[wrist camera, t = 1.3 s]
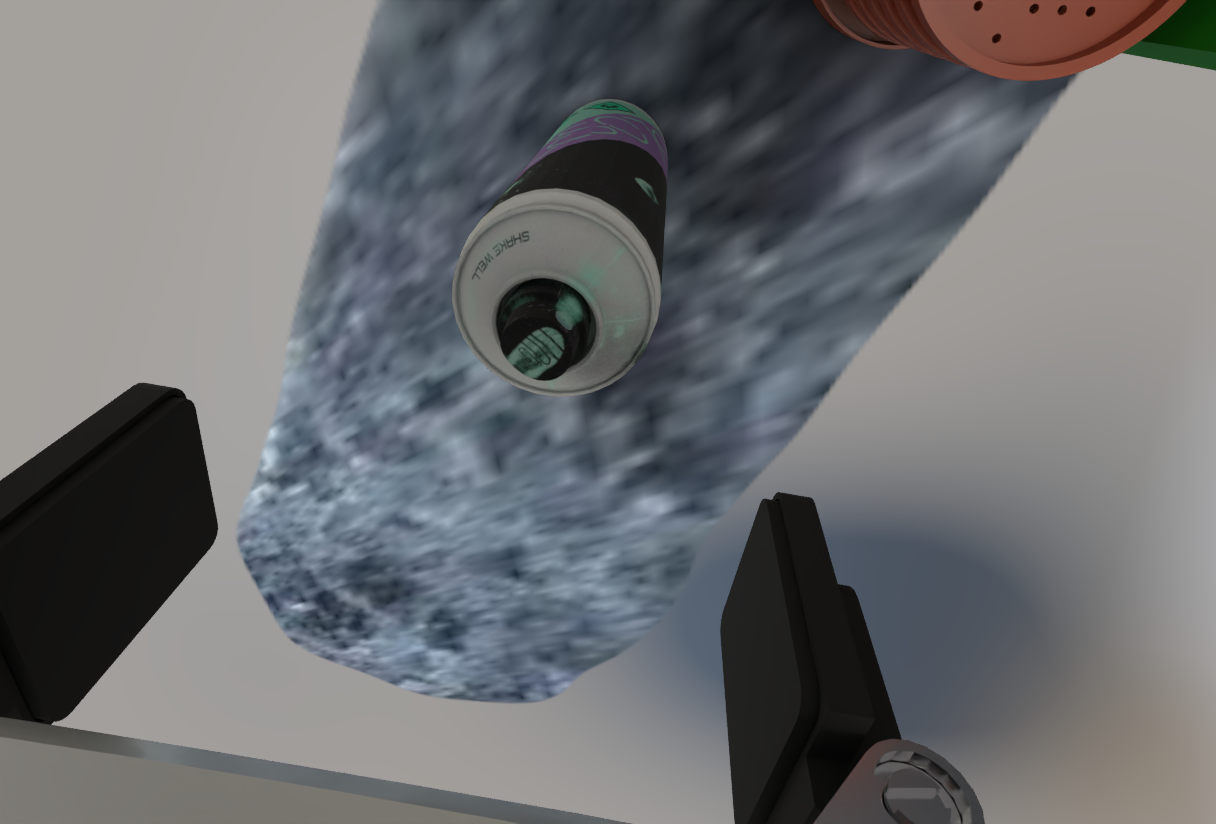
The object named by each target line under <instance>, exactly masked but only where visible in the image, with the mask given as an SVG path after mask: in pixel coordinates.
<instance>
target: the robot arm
mask: <svg viewBox="0 0 1216 824" xmlns="http://www.w3.org/2000/svg"><path fill="white" fill-rule="evenodd" d="M217 530H218V523H217V518H216V512H215V507H214V502H213V497H212V492H211V486H210V481H209V476H208V471H207V466H206V461H205V455H204V450H203V445H202V440H201V435H200V429H199V424H198V419H197V414H196V409H195V406H194V404H193V402H192V401H191V400H188V399H186V396H185V394H184V393H183V391H181V390H179V389H177V388H172V387H166V386H159V385H154V384H148V383H138V384H136V385H134V386H132V387H131V388H130V389H128V390H127V391H126V392H124V393H123V394H121V395H120V396H118V397H117V398H116V399H114V400H113V401H111V402H110V403H109V404H107V405H106V406H104V407H103V408H102V409H100V410H99V411H98V412H96V413H95V414H93V415H92V416H90V417H89V418H88V419H86V420H85V421H83V422H82V423H81V424H79V425H78V426H76V427H75V428H74V429H72V430H71V431H69V432H68V433H67V434H65V435H64V436H62V437H61V438H60V439H58V440H57V441H55V442H54V443H53V444H51V445H50V446H48V447H47V448H45V449H44V450H43V451H41V452H40V453H39V454H37V455H36V456H35V457H33V458H31V459H30V460H29V461H27V462H26V463H24V464H23V465H22V466H20V467H19V468H17V469H16V470H15V471H13V472H12V473H10V474H9V475H8V476H6V477H5V478H3V479H2V480H1V481H0V824H630V823H625V822H619V821H614V820H609V819H604V818H599V817H593V816H588V815H583V814H578V813H572V812H566V811H560V810H555V809H548V808H543V807H537V806H531V805H526V804H520V803H514V802H508V801H502V800H497V799H491V798H485V797H480V796H473V795H468V794H462V793H457V792H451V791H445V790H439V789H433V788H427V787H422V786H416V785H410V784H405V783H399V782H393V781H386V780H380V779H375V778H369V777H363V776H357V775H351V774H345V773H339V772H333V771H328V770H321V769H316V768H309V767H304V766H298V765H292V764H286V763H280V762H274V761H268V760H262V759H256V758H250V757H244V756H238V755H232V754H226V753H220V752H214V751H208V750H202V749H195V748H189V747H184V746H178V745H171V744H165V743H159V742H153V741H147V740H140V739H134V738H128V737H122V736H116V735H110V734H103V733H97V732H91V731H85V730H79V729H73V728H67V727H61V726H54V725H51V724H52V723H53V722H54V721H55V722H56V721H60V720H62V719H64V718H65V717H67V716H68V715H69V714H70V713H71V712H72V711H73V710H74V708H75V707H76V706H77V705H78V704H79V703H80V701H81V700H82V699H83V698H84V697H85V696H86V694H87V693H88V692H89V691H90V690H91V688H92V687H93V686H94V685H95V684H96V683H97V681H98V680H99V679H100V678H101V677H102V676H103V674H104V673H105V672H106V671H107V670H108V668H109V667H110V666H111V665H112V664H113V663H114V661H115V660H116V659H117V658H118V657H119V655H120V654H121V653H122V652H123V650H124V649H125V648H126V647H127V646H128V645H129V644H130V642H131V641H132V640H133V639H134V638H135V636H136V635H137V634H138V633H139V632H140V631H141V629H142V628H143V627H144V626H145V625H146V623H147V622H148V621H149V620H150V619H151V617H152V616H153V615H154V614H155V613H156V612H157V610H158V609H159V608H160V607H161V606H162V605H163V603H164V602H165V601H166V600H167V599H168V597H169V596H170V595H171V594H172V593H173V591H174V590H175V589H176V588H177V587H178V586H179V584H180V583H181V582H182V581H183V580H184V578H185V577H186V576H187V575H188V574H189V573H190V571H191V570H192V569H193V568H194V567H195V566H196V564H197V563H198V562H199V561H200V560H201V558H202V557H203V556H204V555H205V554H206V553H207V551H208V550H209V549H210V548H211V546H212V545H213V543H214V541H215V539H216V536H217ZM720 631H721V647H722V660H723V672H724V673H723V674H724V687H725V699H726V713H727V726H728V740H729V753H730V766H731V780H732V794H733V806H734V819H735V824H985V822H984V816H983V810H982V807H981V805H980V803H979V801H978V798H977V796H976V794H975V792H974V790H973V789H972V788H971V786H970V785H969V783H968V782H967V781H966V779H965V778H964V777H963V775H962V774H961V773H960V772H959V771H958V770H957V769H956V768H955V767H954V766H953V765H951V764H950V763H949V762H948V761H947V760H946V759H945V758H943V757H942V756H940V755H939V754H937V753H935V752H934V751H932V750H931V749H929V748H928V747H926V746H923V745H920V744H917V743H914V742H911V741H909V740H902V739H901V735H900V732H899V729H898V726H897V723H896V719H895V716H894V713H893V710H892V707H891V703H890V700H889V697H888V693H887V690H886V687H885V684H884V681H883V677H882V674H881V671H880V668H879V664H878V662H877V658H876V655H875V652H874V648H873V645H872V642H871V639H870V635H869V632H868V629H867V626H866V622H865V619H864V616H863V613H862V610H861V607H860V603H859V600H858V598H857V595H856V593H855V591H854V590H853V589H852V588H851V587H850V586H845V585H840V584H837V580H836V576H835V573H834V570H833V566H832V562H831V559H830V556H829V552H828V548H827V545H826V541H825V537H824V534H823V530H822V527H821V523H820V520H819V516H818V513H817V509H816V506H815V503H814V500H813V499H812V498H809V497H804V496H798V495H792V494H786V493H780V492H778V493H776V494H775V496H774V497H773V499H772V500H769V499H763V500H762V501H761V503H760V506H759V509H758V512H757V515H756V517H755V520H754V523H753V526H752V529H751V532H750V535H749V538H748V541H747V544H746V547H745V549H744V552H743V555H742V558H741V561H740V564H739V567H738V570H737V573H736V575H735V579H734V581H733V584H732V587H731V590H730V593H729V596H728V599H727V602H726V605H725V607H724V610H723V614H722V619H721V630H720Z"/></svg>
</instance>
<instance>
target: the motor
mask: <svg viewBox="0 0 1216 824" xmlns="http://www.w3.org/2000/svg"><path fill="white" fill-rule="evenodd" d="M813 2H814V4H815V6H816V8H817V9H818V11H819V12H820V14H821V15H822V16H823V17H824V19H825V20H826V21H827V22H828V23H829V24H830V25H831V26H833V27H834V28H835V29H836V30H838V31H839V32H841V33H842V34H844V35H846V36H848V37H850V38H852V39H855V40H857V41H860V42H862V43H865V44H868V45H871V46H874V47H879V48H885V49H907V48H911V49H914V50H917V51H920V52H923V53H926V54H929V55H932V56H935V57H938V58H941V59H944V60H947V61H951V62H953V63H956V64H959V65H962V66H965V67H968V68H972V69H974V70H977V71H980V72H983V73H986V74H989V75H992V76H995V77H1000V78H1004V79H1011V80H1023V81H1032V80H1046V79H1052V78H1058V77H1063V76H1067V75H1071V74H1074V73H1078V72H1081V71H1083V70H1086V69H1089V68H1092V67H1094V66H1096V65H1099V64H1101V63H1103V62H1105V61H1107V60H1109V59H1111V58H1113V57H1115V56H1117V55H1118V54H1120V53H1126V54H1130V55H1136V56H1141V57H1146V58H1152V59H1158V60H1163V61H1169V62H1173V63H1179V64H1184V65H1190V66H1196V67H1201V68H1206V69H1211V70H1216V0H813Z"/></svg>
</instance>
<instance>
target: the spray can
mask: <svg viewBox="0 0 1216 824" xmlns="http://www.w3.org/2000/svg"><path fill="white" fill-rule="evenodd" d="M667 174H668V153H667V149H666V144H665V140H664V138H663V135H662V133H661V131H660V129H659V127H658V126H657V124H656V123H655V121H654V120H653V119H652V118H651V117H650V116H649V115H648V114H647V113H646V112H645V111H644V110H642V109H641V108H639V107H637V106H636V105H634V104H632V103H629V102H626V101H623V100H617V99H601V100H597V101H593V102H590V103H587V104H586V105H584V106H582V107H580V108H578V109H577V110H576V111H574V112H573V113H572V114H571V115H570V116H569V117H568V118H567V119H566V120H565V121H564V122H563V124H562V125H561V126H560V127H559V128H558V129H557V131H556V132H555V133H554V134H553V135H552V137H551V138H550V139H549V140H548V141H547V142H546V144H545V145H544V146H543V147H542V148H541V150H540V151H539V152H538V153H537V154H536V155H535V157H534V158H533V159H532V160H531V161H530V163H529V164H528V165H527V166H526V167H525V169H524V170H523V171H522V172H521V173H520V174H519V176H518V177H517V178H516V179H515V180H514V182H513V183H512V184H511V185H510V186H509V187H508V189H507V190H506V191H505V192H504V193H503V195H502V196H501V197H500V198H499V199H498V200H497V202H496V203H495V204H494V205H493V206H492V208H491V209H490V210H489V211H488V212H487V214H486V215H485V216H484V217H483V218H482V219H481V221H480V222H479V223H478V225H477V226H476V227H475V229H474V230H473V231H472V233H471V234H470V235H469V237H468V239H467V241H466V243H465V245H464V248H463V250H462V252H461V254H460V259H459V261H458V263H457V265H456V269H455V274H454V279H453V283H452V304H453V308H454V313H455V318H456V322H457V324H458V327H459V329H460V331H461V334H462V336H463V338H464V340H465V341H466V343H467V344H468V346H469V347H470V349H471V350H472V352H473V353H474V355H475V356H476V357H477V358H478V359H479V360H480V361H481V362H482V363H483V364H484V365H485V366H486V367H487V368H488V369H489V370H490V371H492V372H493V373H494V374H496V375H497V376H498V377H500V378H501V379H502V380H504V381H506V382H508V383H510V384H512V385H514V386H516V387H518V388H520V389H524V390H527V391H530V392H533V393H536V394H542V395H549V396H576V395H581V394H586V393H591V392H594V391H596V390H599V389H601V388H603V387H606V386H608V385H610V384H611V383H613V382H615V381H616V380H618V379H619V378H621V377H622V376H624V375H625V374H626V373H627V372H628V371H629V370H630V369H631V368H632V367H633V366H634V365H635V364H636V363H637V361H638V360H639V358H640V357H641V355H642V354H643V352H644V351H645V349H646V347H647V344H648V342H649V339H650V337H651V335H652V332H653V330H654V327H655V325H656V322H657V319H658V313H659V307H660V301H661V283H662V264H663V246H664V228H665V210H666V192H667Z"/></svg>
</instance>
